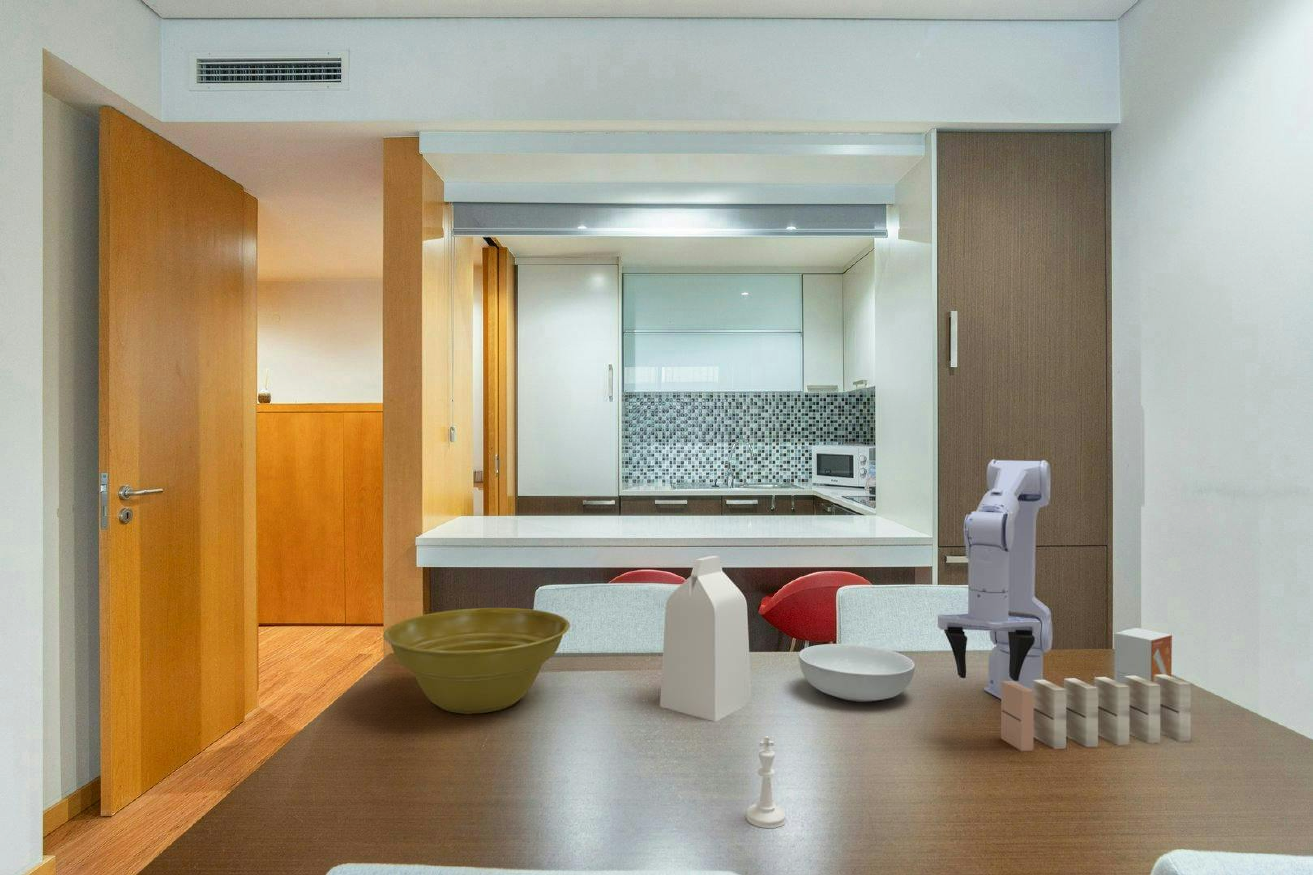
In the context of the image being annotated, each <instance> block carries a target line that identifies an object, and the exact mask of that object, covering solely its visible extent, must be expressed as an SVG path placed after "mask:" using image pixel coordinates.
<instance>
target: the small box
mask: <svg viewBox="0 0 1313 875" xmlns="http://www.w3.org/2000/svg"><path fill="white" fill-rule="evenodd" d="M1113 638H1114V642H1113V643H1114V644H1113V645H1114V646H1113V648H1114V649H1113V651H1114V652H1113V654H1114V655H1113V657H1114V658H1113V669H1114V670H1113V676H1114V678H1113V680H1114V681H1117V682H1119V683H1122V684H1124V676H1137V677H1140V678H1143V679H1145V680H1148V681H1151V682H1153V683H1154V675H1161V674H1165V675H1168V676H1171V677H1172V668H1173V667H1172V659H1173V658H1172V655H1173V654H1172V652H1173V651H1172V649H1173V648H1172V647H1173V646H1172V644H1173V635H1172V634H1170V633H1165V632H1159V631H1155V630H1150V629H1145V628H1140V627H1133V628H1130V629H1124V630H1122V631H1118V632H1115V633H1114V637H1113Z"/></svg>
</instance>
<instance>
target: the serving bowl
mask: <svg viewBox="0 0 1313 875" xmlns="http://www.w3.org/2000/svg"><path fill="white" fill-rule="evenodd" d="M798 660H799V661H798V662H799V666H800V670H801V673H802V675H803V676H804V678H805V680H806V681H807V682H808V684H809V683H810V685H811V686H812V687H814V688H815V689H817V690H818V691H820V692H822V693H825V694H826V695H829V696H832V697H836V698H838V699H840V700H845V701H848V702H849V701H850V702H858V703H864V702H865V703H869V702H874V701H881V700H886V699H891V698H894V697H896V696H898V695H900V694H901V693H903V692H904V691H905V690H906V689H907V688H908V687H909V685H911V684H910V683H911V682H912V681H913V676H914V674H915V668H916V665H915V662H914V660H912V659H910V657H907V655H904V654H901V653H899V652H895V651H893V650H889V649H885V648H879V647H875V646H869V645H863V644H861V645H860V644H849V643H826V644H817V645H812V646H808V647H806V648H803V649H801V650H800V651H799V653H798Z"/></svg>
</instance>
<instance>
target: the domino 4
mask: <svg viewBox="0 0 1313 875" xmlns="http://www.w3.org/2000/svg"><path fill="white" fill-rule="evenodd" d="M1124 685H1127V686H1129V735H1131V736H1133V737H1135V738H1136V739H1139V740H1141V741H1143V742H1145V743H1147V744H1158V743H1159V744H1160V743H1161V733H1160V685H1158V684H1156V683H1153V682H1151V681H1148V680H1145V679H1143V678H1140V677H1137V676H1124Z"/></svg>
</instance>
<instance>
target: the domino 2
mask: <svg viewBox="0 0 1313 875" xmlns="http://www.w3.org/2000/svg"><path fill="white" fill-rule="evenodd" d="M1063 688H1064V689H1066V738H1069V739H1071V740H1072V741H1075V742H1076V743H1078V744H1080V745H1082V746H1084V747H1085V748H1093V747H1095V748H1096V747H1099V744H1098V743H1099V735H1098V688H1097V687H1094V685H1092V684H1090V683H1087V682H1085V681H1082V680H1080V679H1077V678H1076V677H1075V678H1070V677H1069V678H1063Z"/></svg>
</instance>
